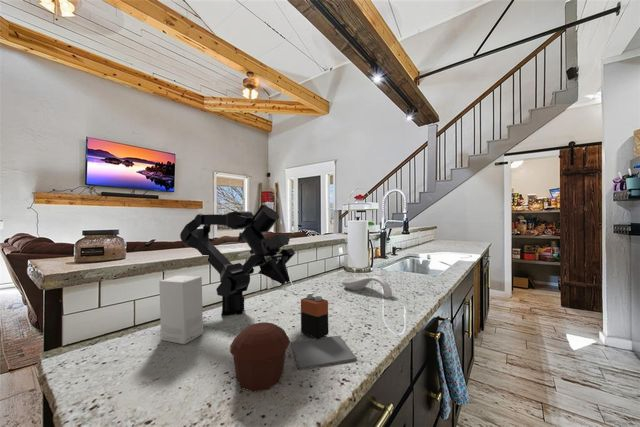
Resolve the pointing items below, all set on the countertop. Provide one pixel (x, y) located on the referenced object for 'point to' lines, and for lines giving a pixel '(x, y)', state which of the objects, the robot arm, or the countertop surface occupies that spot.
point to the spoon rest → (360, 283)
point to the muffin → (259, 355)
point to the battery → (314, 316)
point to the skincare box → (181, 308)
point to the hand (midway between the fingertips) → (286, 282)
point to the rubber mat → (321, 352)
